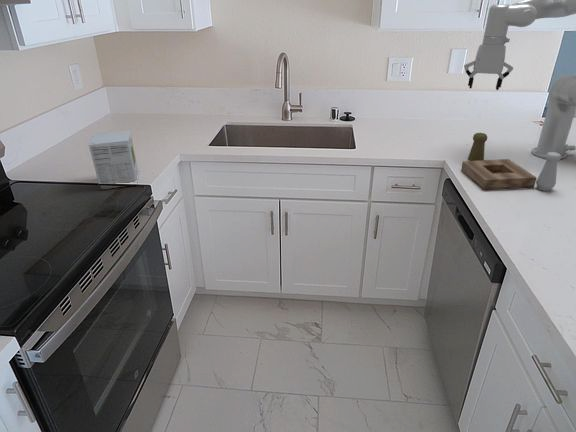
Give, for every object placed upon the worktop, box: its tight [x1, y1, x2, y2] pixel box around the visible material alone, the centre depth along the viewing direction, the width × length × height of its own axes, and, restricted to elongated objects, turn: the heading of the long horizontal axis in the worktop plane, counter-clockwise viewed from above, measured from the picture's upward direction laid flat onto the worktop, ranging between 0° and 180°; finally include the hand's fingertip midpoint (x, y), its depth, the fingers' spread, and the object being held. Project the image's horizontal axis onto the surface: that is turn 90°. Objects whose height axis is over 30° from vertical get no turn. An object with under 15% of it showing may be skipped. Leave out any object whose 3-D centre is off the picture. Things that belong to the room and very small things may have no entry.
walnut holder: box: [460, 158, 538, 192], centre depth 151 cm, size 18×18×4 cm
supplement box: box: [88, 130, 139, 185], centre depth 154 cm, size 13×13×18 cm
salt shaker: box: [535, 152, 562, 192], centre depth 141 cm, size 6×6×13 cm
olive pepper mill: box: [467, 132, 488, 161], centre depth 167 cm, size 6×6×11 cm
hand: (483, 88), depth 163 cm, fingers open, 9 cm apart
